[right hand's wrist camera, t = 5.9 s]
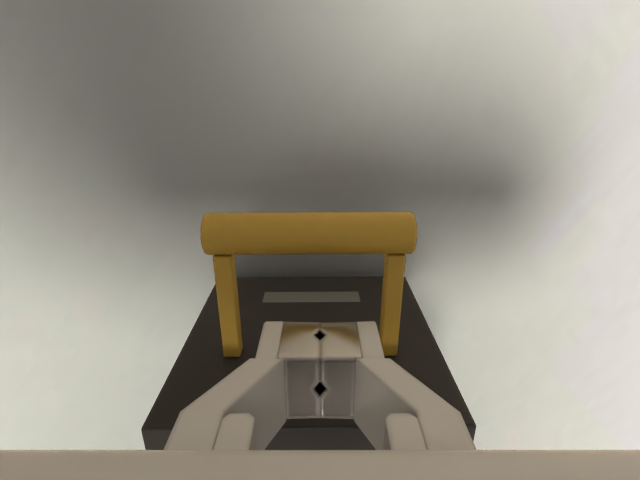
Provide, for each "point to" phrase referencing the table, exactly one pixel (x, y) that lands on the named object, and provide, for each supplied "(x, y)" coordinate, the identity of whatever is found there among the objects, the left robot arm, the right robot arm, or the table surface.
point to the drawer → (302, 314)
